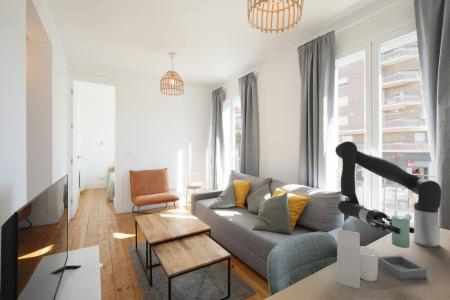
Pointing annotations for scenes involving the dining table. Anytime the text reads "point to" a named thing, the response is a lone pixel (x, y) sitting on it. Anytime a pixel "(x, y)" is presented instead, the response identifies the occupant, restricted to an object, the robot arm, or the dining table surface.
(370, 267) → the white cup
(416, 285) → the dining table surface
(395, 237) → the mint green cylinder
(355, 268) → the milk carton
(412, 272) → the dish
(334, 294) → the dining table surface
